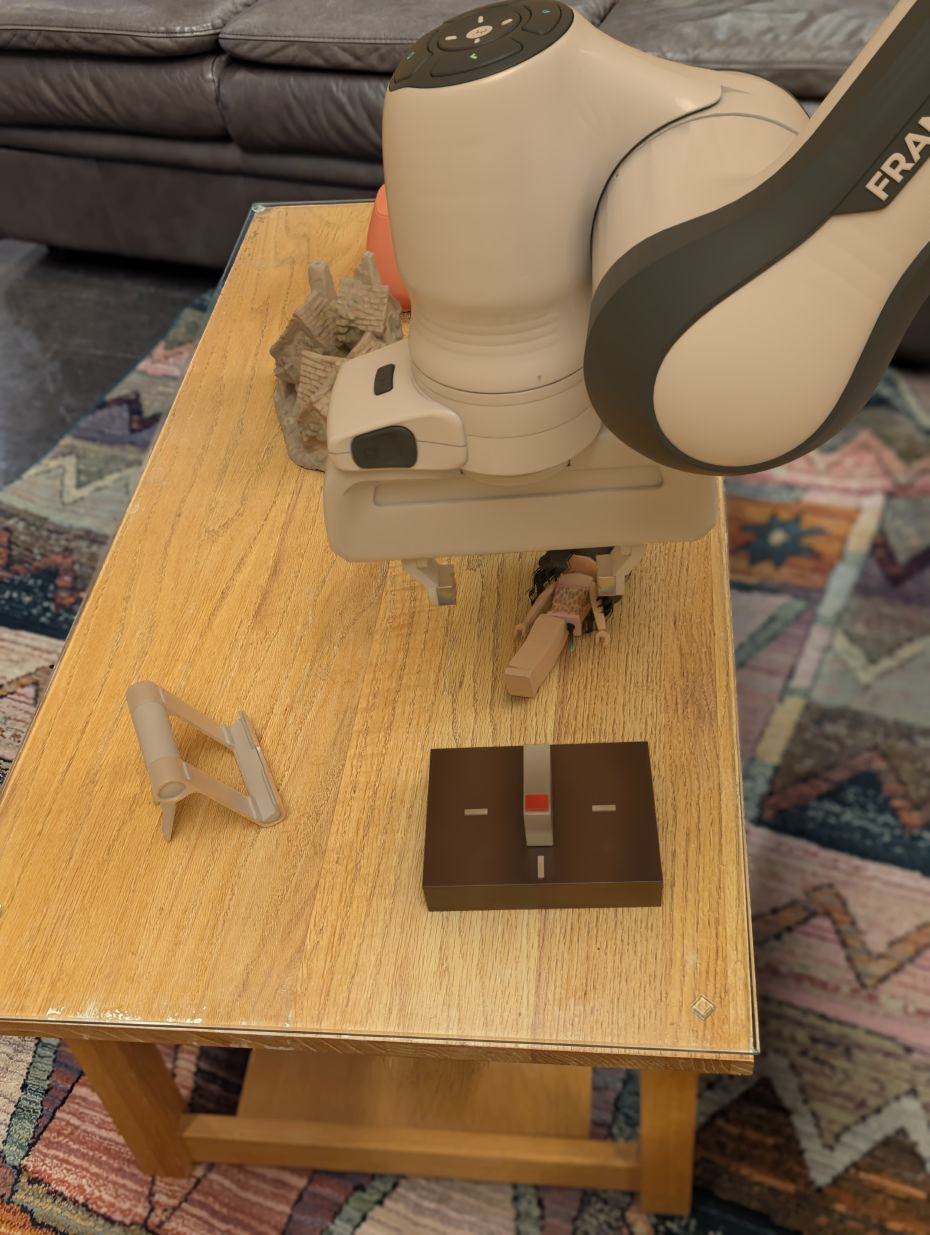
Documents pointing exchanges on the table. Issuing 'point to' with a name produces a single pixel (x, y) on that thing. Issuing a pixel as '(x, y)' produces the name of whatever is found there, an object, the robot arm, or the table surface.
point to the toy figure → (558, 615)
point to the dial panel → (582, 830)
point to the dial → (537, 795)
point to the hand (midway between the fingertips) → (526, 593)
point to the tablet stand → (182, 779)
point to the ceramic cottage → (328, 351)
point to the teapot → (385, 250)
